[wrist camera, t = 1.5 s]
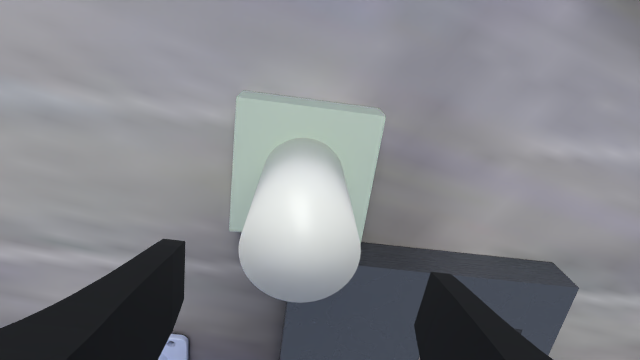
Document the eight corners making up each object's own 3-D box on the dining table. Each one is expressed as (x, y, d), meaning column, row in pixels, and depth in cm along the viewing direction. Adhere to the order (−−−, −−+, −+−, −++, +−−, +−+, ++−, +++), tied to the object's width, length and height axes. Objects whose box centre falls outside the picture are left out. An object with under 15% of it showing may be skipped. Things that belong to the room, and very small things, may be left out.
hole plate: (276, 384, 27) (272, 419, 24) (294, 235, 23) (292, 259, 20) (494, 401, 28) (512, 436, 26) (552, 262, 24) (580, 289, 21)
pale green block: (235, 213, 22) (228, 230, 20) (243, 90, 19) (236, 97, 18) (356, 226, 22) (360, 244, 21) (378, 108, 20) (385, 116, 18)
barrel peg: (259, 208, 20) (235, 296, 13) (266, 132, 18) (242, 190, 12) (337, 216, 20) (350, 307, 13) (349, 143, 19) (370, 205, 12)
